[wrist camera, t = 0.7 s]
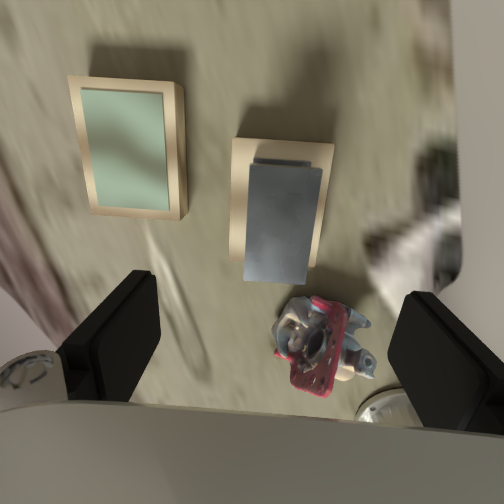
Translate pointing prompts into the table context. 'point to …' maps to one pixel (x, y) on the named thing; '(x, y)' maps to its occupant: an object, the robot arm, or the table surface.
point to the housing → (280, 219)
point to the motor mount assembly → (321, 343)
